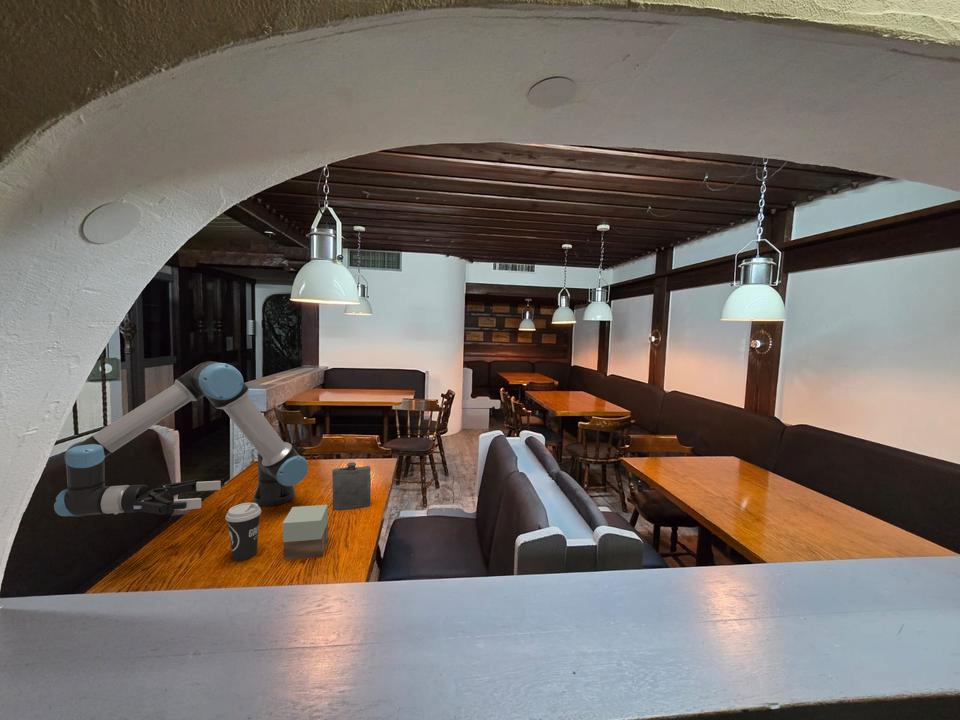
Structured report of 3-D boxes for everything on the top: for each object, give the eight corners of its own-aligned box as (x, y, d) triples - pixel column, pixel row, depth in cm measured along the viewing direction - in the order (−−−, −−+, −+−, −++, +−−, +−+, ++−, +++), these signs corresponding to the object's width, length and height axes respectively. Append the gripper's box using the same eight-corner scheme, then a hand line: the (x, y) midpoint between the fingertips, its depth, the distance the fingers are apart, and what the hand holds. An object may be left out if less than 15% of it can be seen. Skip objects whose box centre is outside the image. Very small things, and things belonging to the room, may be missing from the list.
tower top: (292, 524, 129) (292, 507, 128) (327, 521, 131) (327, 504, 131) (282, 542, 118) (282, 523, 118) (321, 539, 120) (321, 520, 120)
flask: (370, 507, 155) (370, 463, 154) (332, 511, 151) (331, 466, 150) (370, 503, 158) (370, 460, 157) (333, 507, 154) (332, 463, 153)
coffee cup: (245, 565, 116) (244, 517, 114) (218, 561, 117) (217, 513, 116) (269, 548, 125) (268, 503, 124) (243, 544, 127) (242, 500, 126)
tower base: (293, 542, 129) (292, 524, 129) (328, 538, 132) (327, 521, 131) (284, 561, 118) (283, 542, 118) (322, 557, 121) (322, 538, 120)
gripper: (152, 494, 125) (227, 489, 130) (97, 532, 101) (191, 525, 106) (152, 471, 124) (226, 467, 130) (96, 504, 100) (190, 498, 105)
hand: (211, 493), depth 118 cm, fingers open, 13 cm apart
